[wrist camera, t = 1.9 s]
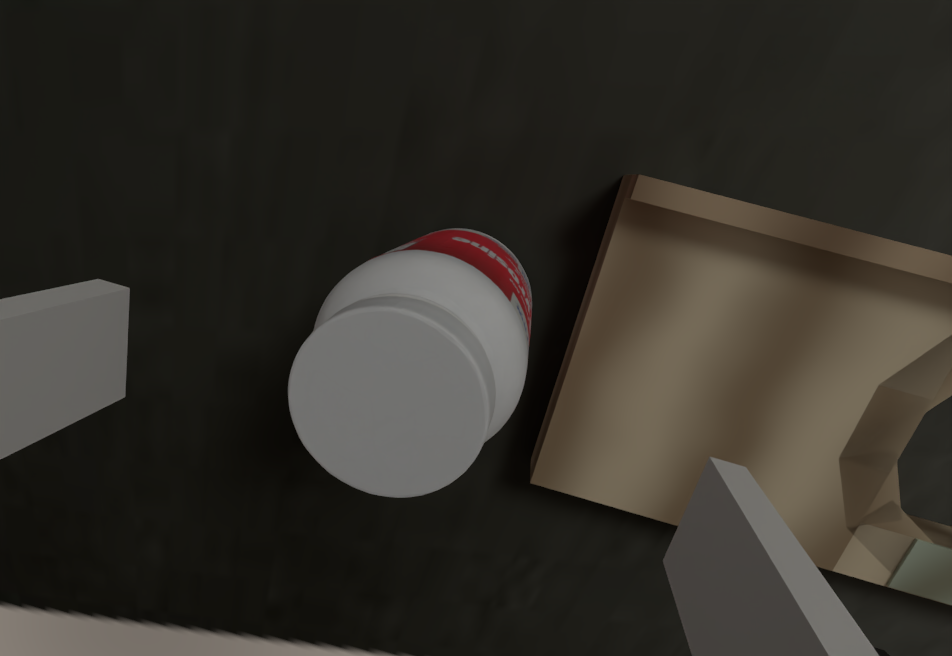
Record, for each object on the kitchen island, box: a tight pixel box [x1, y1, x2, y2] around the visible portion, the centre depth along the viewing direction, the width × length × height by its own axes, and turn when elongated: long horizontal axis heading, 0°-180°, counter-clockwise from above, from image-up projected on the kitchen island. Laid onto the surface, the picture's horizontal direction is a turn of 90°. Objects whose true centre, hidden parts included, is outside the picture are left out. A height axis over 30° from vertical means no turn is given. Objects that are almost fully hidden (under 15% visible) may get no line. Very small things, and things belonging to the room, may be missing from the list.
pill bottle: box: [288, 228, 532, 498], centre depth 16 cm, size 6×6×11 cm
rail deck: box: [530, 174, 952, 606], centre depth 19 cm, size 24×13×3 cm, turn 76°
